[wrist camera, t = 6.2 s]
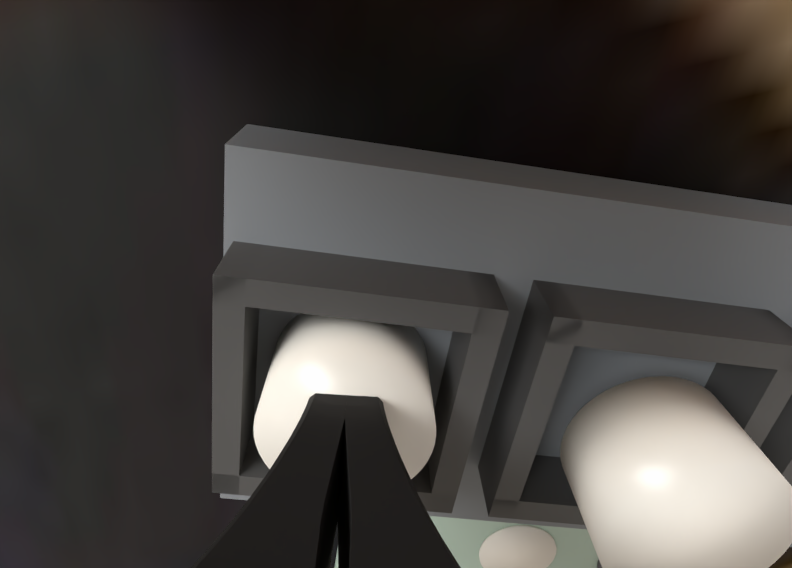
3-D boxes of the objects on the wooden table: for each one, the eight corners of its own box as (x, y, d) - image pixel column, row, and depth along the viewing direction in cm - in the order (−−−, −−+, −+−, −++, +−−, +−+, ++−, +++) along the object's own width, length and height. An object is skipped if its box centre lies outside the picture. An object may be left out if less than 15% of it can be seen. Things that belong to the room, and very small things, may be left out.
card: (703, 511, 18) (711, 523, 18) (655, 593, 20) (662, 607, 20) (348, 478, 17) (347, 491, 17) (334, 569, 19) (333, 582, 19)
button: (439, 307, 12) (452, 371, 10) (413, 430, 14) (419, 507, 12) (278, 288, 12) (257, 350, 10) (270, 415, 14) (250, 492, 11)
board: (996, 235, 14) (1178, 303, 11) (813, 499, 18) (905, 604, 15) (247, 123, 12) (200, 165, 9) (237, 444, 17) (203, 550, 13)
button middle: (754, 386, 11) (840, 473, 9) (687, 507, 13) (746, 605, 11) (588, 367, 11) (639, 453, 9) (541, 494, 13) (573, 592, 11)
